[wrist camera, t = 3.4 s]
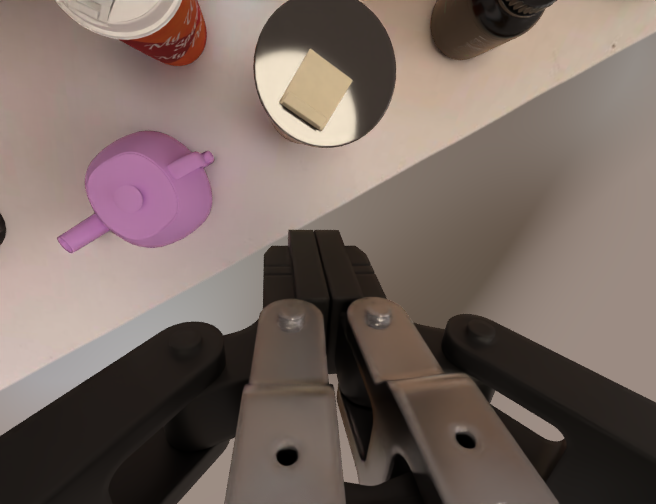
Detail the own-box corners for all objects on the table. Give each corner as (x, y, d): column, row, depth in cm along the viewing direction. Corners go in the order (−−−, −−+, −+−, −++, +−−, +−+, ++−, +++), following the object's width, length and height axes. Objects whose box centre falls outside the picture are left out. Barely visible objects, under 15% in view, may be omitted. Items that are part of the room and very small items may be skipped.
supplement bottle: (505, 24, 38) (603, -30, 27) (458, 76, 39) (534, 46, 28) (463, -31, 36) (549, -115, 25) (415, 25, 37) (477, -31, 26)
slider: (321, 131, 21) (324, 130, 20) (278, 102, 21) (279, 99, 19) (351, 81, 21) (357, 75, 19) (309, 49, 20) (312, 41, 19)
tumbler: (315, 163, 39) (347, 174, 22) (249, 119, 37) (225, 93, 20) (357, 95, 38) (424, 51, 21) (290, 46, 36) (303, -47, 19)
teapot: (246, 196, 39) (237, 210, 30) (127, 271, 40) (85, 306, 31) (184, 105, 36) (154, 91, 27) (57, 187, 37) (-13, 200, 28)
